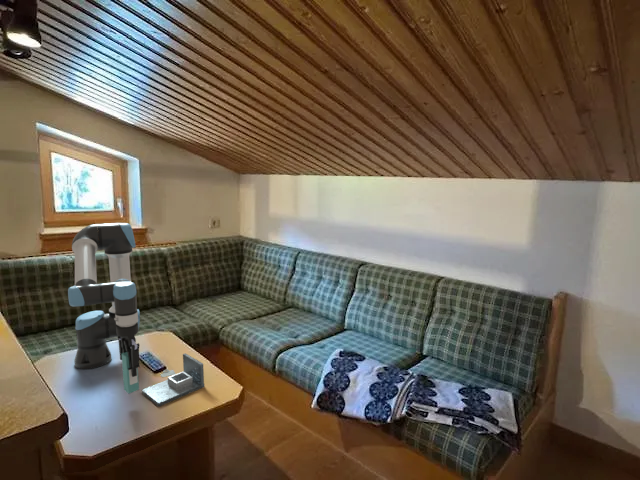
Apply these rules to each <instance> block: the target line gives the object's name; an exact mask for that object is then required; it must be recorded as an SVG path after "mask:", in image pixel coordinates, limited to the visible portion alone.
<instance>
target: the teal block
mask: <svg viewBox="0 0 640 480" xmlns="http://www.w3.org/2000/svg"><path fill="white" fill-rule="evenodd" d="M121 354H122V360H121V366H122V378H123V380H122V381H123V390H124V391H125V392H126V394H132V393H134V392H136V391H139V390H140V383H139V381H140V380H139V367H138V368H137V379H138V382H137V383H135V384H132V385H130V381H129V370H128V368H130V366H129V359H128V353H127V352H125V353H121Z"/></svg>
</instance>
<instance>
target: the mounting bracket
mask: <svg viewBox="0 0 640 480" xmlns="http://www.w3.org/2000/svg"><path fill="white" fill-rule="evenodd" d="M175 374H176V372H175V370H174V369H164V370H163V371H162V373H161V374H160V377H161V378H165V377H167V378H168V377H170V376H172V375H175Z"/></svg>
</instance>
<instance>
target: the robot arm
mask: <svg viewBox="0 0 640 480" xmlns="http://www.w3.org/2000/svg"><path fill="white" fill-rule="evenodd" d="M136 247H137V246H136V241H135V236H134V230H133V227H132V225H131V224H130V223H127V222H111V223H95V224H94V223H92V224H89V225H87V226H85V227H84V228H81V229H80V230H79V231H78V232H77V233H76V234H75V236H74V238H73V239H72V242H71V249H72V252H73V254H74V285H73V286H70V287H68V289H67V297H68V305H69V306H70V307H85V306H91V305H92V306H93V305H98V304H107V303H111V305H112V306H111V307H110V308H108V313H105V312H104V311H103V310H93V311H88V312H86V313H82V314H80V315H79V316H78V317H77V318H76V319H75V328H74V329H75V332H76V345H77V350H76V353H75V358H74V359H73V360H74V367H75V368H77V369H80V370H89V369H97V368H99V367H102V366H105V365H106V364H108V363H109V362H111V361H112V352H111V350H110V349H109V346H108V344H107V340H108V339H115V338H117V340H118V349H119V359H120V361H122V354H121V353H125V352H127V353H128V359H129V366H130V368H128V370H129V381H130V385H132V384H135V383H137V382H138V380H139V378H138V379H137V368H138V369H139V368H141V367H140V366H141V365H140V363H141V362H140V361H141V360H140V343H139V342H138V343H137V339H136V337H135V336H136V335H137V334H138V333H139V329H140V321H141V318H140V316H141V313H140V309H139V308H138V301H137V293H138V292H137V287H136V284H135V282H132V280H131V279H132V277H131V262H130V255H131V254H132V253H133V249H134V248H136ZM102 250H104V251H103V252H104V254H105V255H106V256H108V257H107V258H108V266H109V267H108V268H109V279H110V280H109V281H110V282H105V283H98V277H97V276H98V275H97V261H96V260H97V259H96V253H97V251H102Z"/></svg>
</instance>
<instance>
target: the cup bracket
mask: <svg viewBox="0 0 640 480" xmlns="http://www.w3.org/2000/svg"><path fill="white" fill-rule="evenodd" d="M182 362H183V363H182V365H183V371H181V372H178V373H175V374H174V375H171V376H167V379H166V380H163V381H161V382H159V383H155V384H153V385H150V386H148V387H146V388H143V389H141V394H142V395H144V396H145V397H146V398H147V399H149V400H150V401H151V402H152V403H154V404H155V406H157V407H162V406H165V405H166V404H169V403H171V402H173V401H175V400H176V401H177V399H180V398H182V397H184V396H187V395H189V394H191V393H194V392H196V391H198V390H200V389H203V388H205V376H204V363H203V362H201V361H199V360H197V359H196V358H194V357H193V356H190V355H189V354H187V353H183V354H182Z"/></svg>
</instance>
